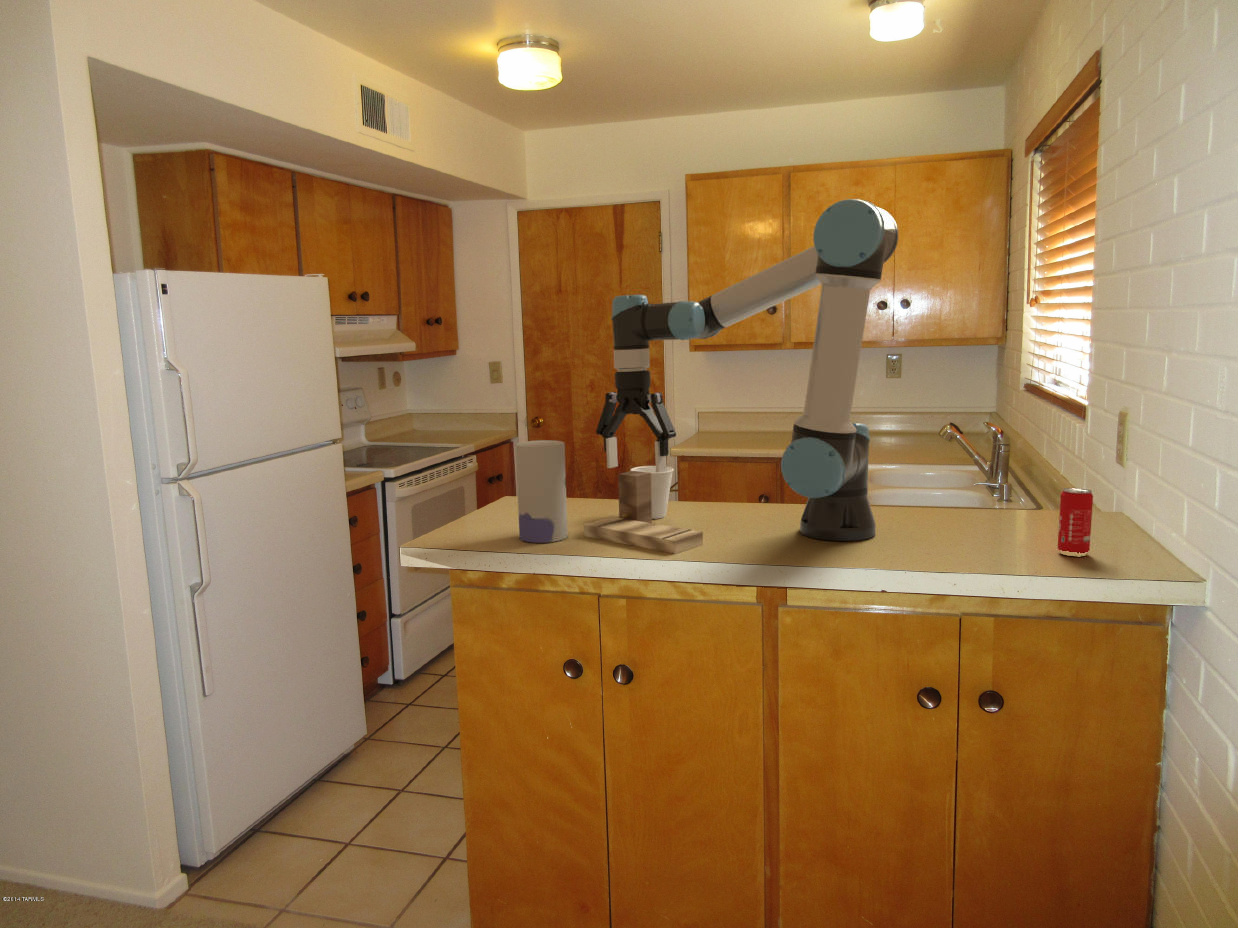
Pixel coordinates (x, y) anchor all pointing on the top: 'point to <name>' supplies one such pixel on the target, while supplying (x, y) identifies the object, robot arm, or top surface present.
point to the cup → (658, 489)
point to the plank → (644, 534)
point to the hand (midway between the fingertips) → (636, 469)
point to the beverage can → (1075, 520)
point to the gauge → (635, 496)
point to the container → (541, 491)
